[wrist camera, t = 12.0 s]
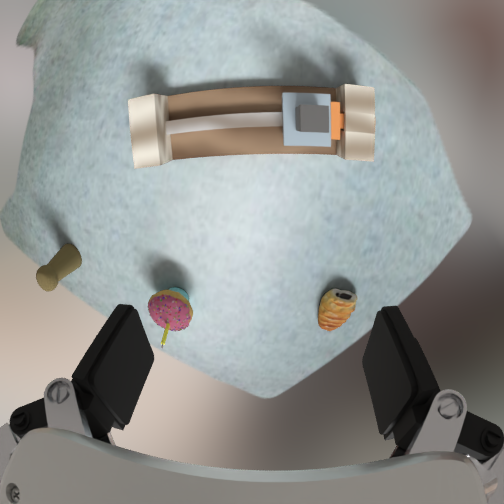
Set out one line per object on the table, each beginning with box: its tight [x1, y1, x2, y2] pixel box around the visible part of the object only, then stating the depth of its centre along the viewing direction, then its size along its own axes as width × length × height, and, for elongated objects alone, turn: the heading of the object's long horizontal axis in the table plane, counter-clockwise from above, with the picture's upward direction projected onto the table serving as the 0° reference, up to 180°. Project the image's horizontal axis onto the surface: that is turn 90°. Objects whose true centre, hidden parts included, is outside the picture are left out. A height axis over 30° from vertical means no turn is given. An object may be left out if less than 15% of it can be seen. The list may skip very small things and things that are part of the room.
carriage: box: [282, 93, 331, 147], centre depth 29 cm, size 7×6×10 cm
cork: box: [36, 243, 82, 291], centre depth 44 cm, size 6×6×11 cm
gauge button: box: [331, 102, 344, 140], centre depth 31 cm, size 5×6×2 cm
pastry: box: [318, 288, 357, 331], centre depth 49 cm, size 9×7×4 cm
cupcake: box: [148, 287, 193, 348], centre depth 46 cm, size 9×8×12 cm
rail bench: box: [128, 84, 375, 169], centre depth 33 cm, size 10×32×6 cm, turn 92°
